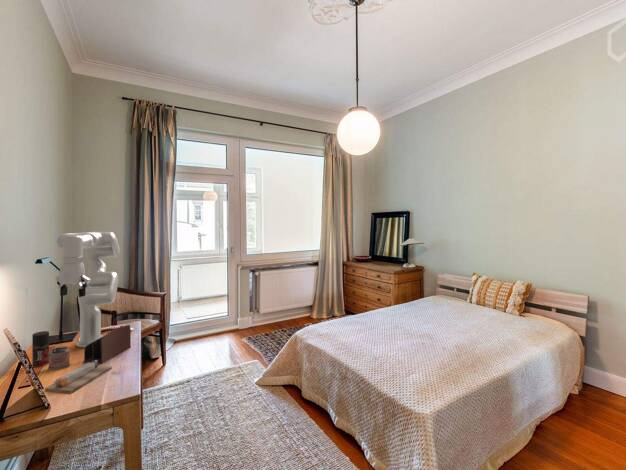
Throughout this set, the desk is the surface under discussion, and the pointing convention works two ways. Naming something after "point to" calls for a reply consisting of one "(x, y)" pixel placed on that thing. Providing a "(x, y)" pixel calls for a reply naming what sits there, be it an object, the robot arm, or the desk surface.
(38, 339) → the deodorant
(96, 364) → the tongs fixed
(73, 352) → the desk surface
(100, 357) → the letter holder
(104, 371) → the board
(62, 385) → the tongs arm
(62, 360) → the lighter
